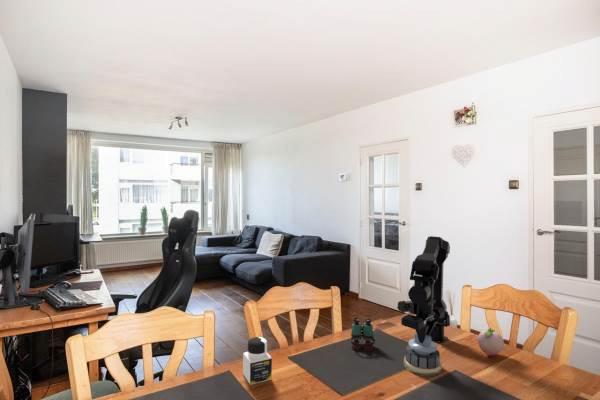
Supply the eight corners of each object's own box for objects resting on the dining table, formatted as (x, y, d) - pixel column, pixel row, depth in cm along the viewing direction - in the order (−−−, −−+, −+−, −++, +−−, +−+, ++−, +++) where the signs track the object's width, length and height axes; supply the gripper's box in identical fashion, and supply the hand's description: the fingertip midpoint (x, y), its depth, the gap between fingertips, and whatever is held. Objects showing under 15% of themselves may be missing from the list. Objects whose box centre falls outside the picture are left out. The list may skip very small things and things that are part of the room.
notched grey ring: (415, 355, 127) (415, 340, 127) (447, 368, 118) (448, 352, 118) (396, 366, 119) (397, 350, 119) (430, 380, 110) (430, 363, 110)
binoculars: (351, 327, 127) (350, 315, 137) (351, 355, 128) (350, 340, 138) (376, 329, 126) (373, 316, 136) (376, 356, 127) (373, 341, 137)
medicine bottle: (250, 385, 106) (250, 346, 106) (242, 374, 112) (243, 337, 112) (271, 379, 109) (272, 341, 109) (263, 369, 116) (263, 333, 115)
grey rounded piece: (403, 354, 119) (403, 334, 119) (417, 347, 125) (417, 327, 125) (428, 364, 112) (428, 343, 112) (441, 356, 118) (442, 335, 118)
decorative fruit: (503, 363, 122) (504, 335, 121) (477, 358, 126) (477, 330, 125) (503, 353, 130) (504, 326, 130) (478, 347, 134) (479, 322, 134)
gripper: (416, 286, 130) (415, 327, 131) (387, 295, 118) (386, 341, 118) (445, 292, 122) (444, 337, 122) (418, 304, 109) (416, 353, 110)
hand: (422, 341), depth 118 cm, fingers closed on grey rounded piece
